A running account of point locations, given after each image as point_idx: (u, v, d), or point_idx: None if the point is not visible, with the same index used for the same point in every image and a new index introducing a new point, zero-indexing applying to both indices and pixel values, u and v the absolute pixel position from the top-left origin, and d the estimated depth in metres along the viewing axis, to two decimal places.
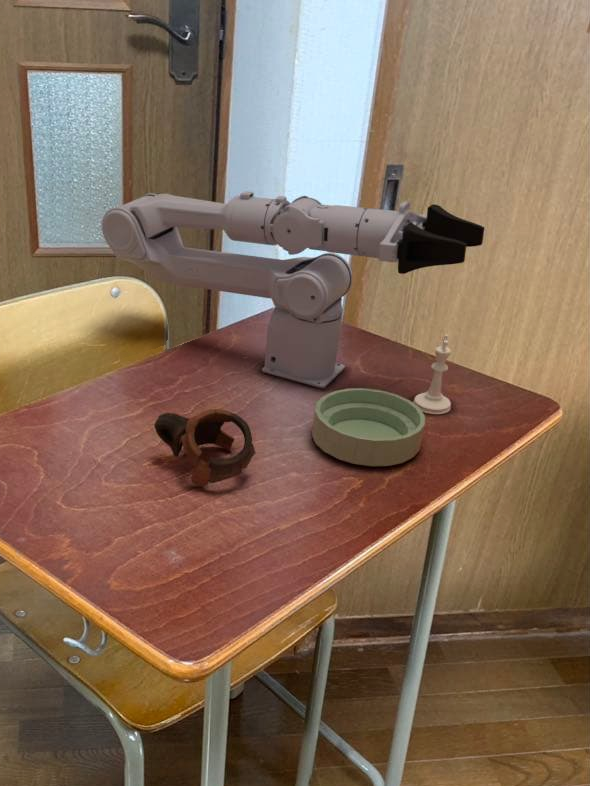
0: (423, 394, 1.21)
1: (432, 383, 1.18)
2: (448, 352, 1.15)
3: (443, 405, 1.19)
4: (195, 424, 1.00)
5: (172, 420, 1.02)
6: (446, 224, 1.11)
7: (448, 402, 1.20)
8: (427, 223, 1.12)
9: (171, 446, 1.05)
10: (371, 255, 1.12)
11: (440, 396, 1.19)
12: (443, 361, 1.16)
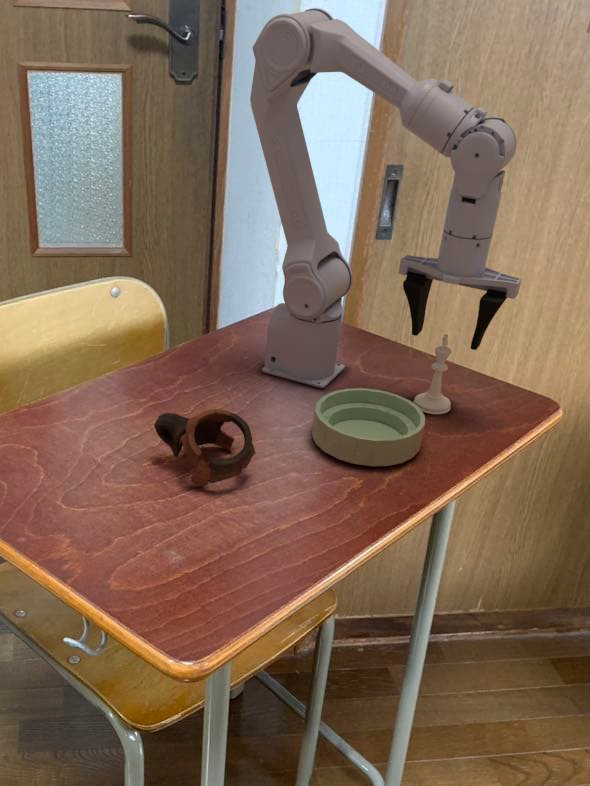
0: (423, 394, 1.21)
1: (432, 383, 1.18)
2: (448, 352, 1.15)
3: (443, 405, 1.19)
4: (195, 424, 1.00)
5: (172, 420, 1.02)
6: None
7: (448, 402, 1.20)
8: None
9: (171, 446, 1.05)
10: None
11: (440, 396, 1.19)
12: (443, 361, 1.16)
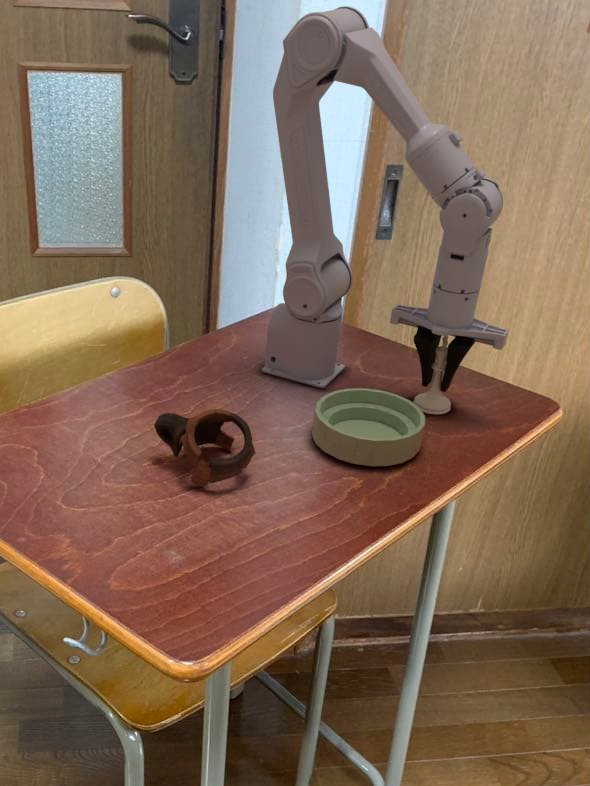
0: (423, 394, 1.21)
1: (432, 383, 1.18)
2: None
3: (443, 405, 1.19)
4: (195, 424, 1.00)
5: (172, 420, 1.02)
6: None
7: (448, 402, 1.20)
8: None
9: (171, 446, 1.05)
10: None
11: (440, 396, 1.19)
12: (443, 361, 1.16)
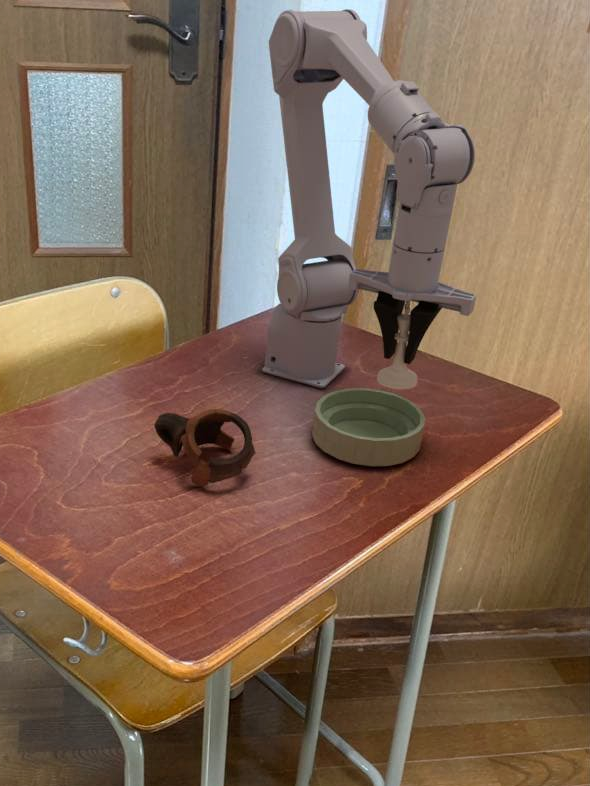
0: (387, 368, 1.10)
1: (396, 355, 1.08)
2: None
3: (409, 379, 1.08)
4: (195, 424, 1.00)
5: (172, 420, 1.02)
6: None
7: (414, 376, 1.09)
8: None
9: (171, 446, 1.05)
10: None
11: (405, 369, 1.09)
12: (406, 330, 1.06)
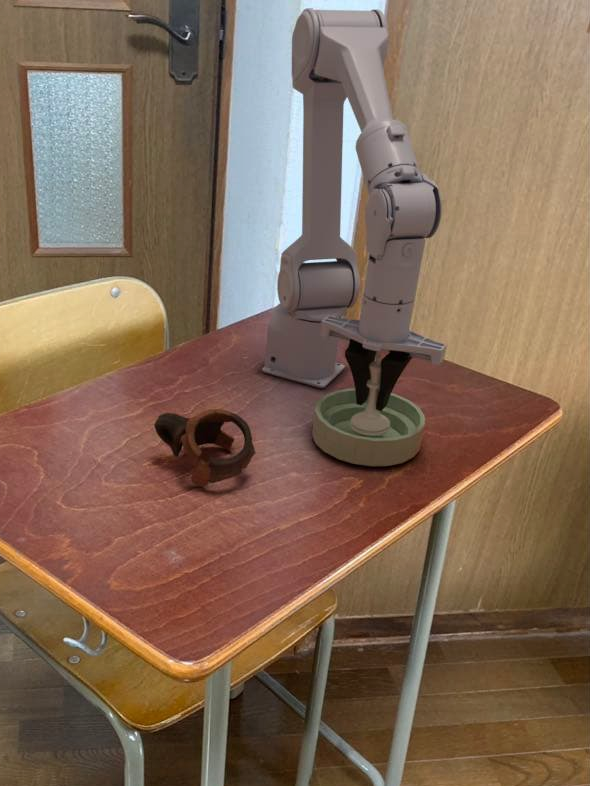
0: (360, 414, 1.11)
1: (368, 402, 1.08)
2: None
3: (381, 425, 1.09)
4: (195, 424, 1.00)
5: (172, 420, 1.02)
6: None
7: (387, 422, 1.09)
8: (387, 355, 1.04)
9: (171, 446, 1.05)
10: None
11: (378, 416, 1.09)
12: (378, 378, 1.06)
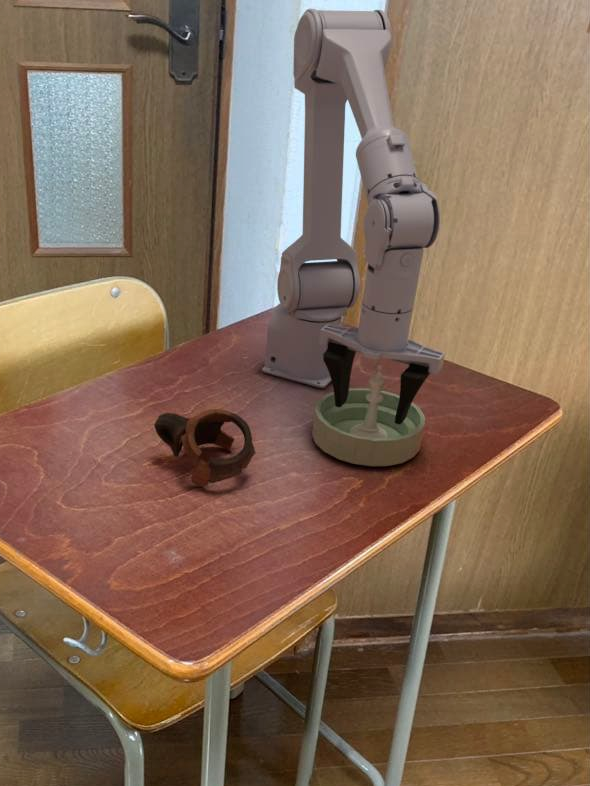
0: (358, 426, 1.12)
1: (367, 415, 1.09)
2: (382, 382, 1.06)
3: None
4: (195, 424, 1.00)
5: (172, 420, 1.02)
6: None
7: (385, 435, 1.11)
8: (407, 369, 1.03)
9: (171, 446, 1.05)
10: None
11: (376, 429, 1.10)
12: (377, 392, 1.07)
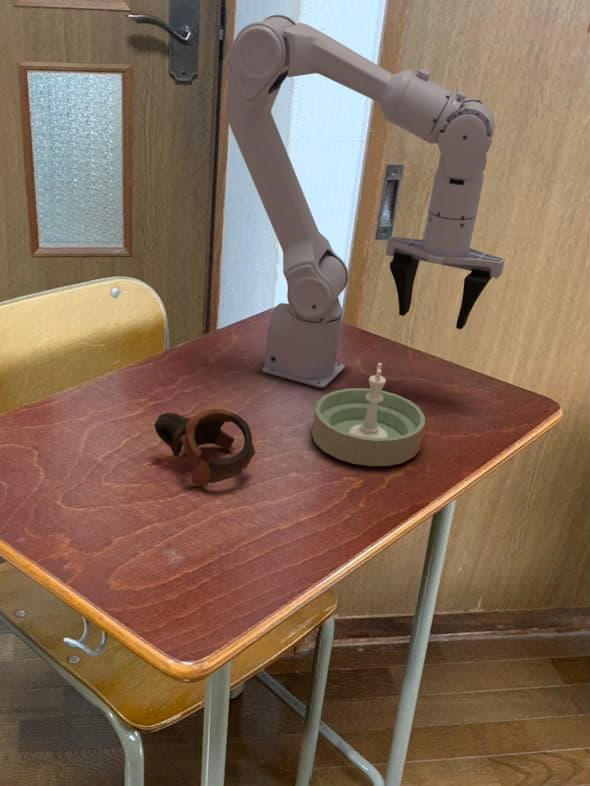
0: (358, 426, 1.12)
1: (367, 415, 1.09)
2: (382, 382, 1.06)
3: None
4: (195, 424, 1.00)
5: (172, 420, 1.02)
6: None
7: (385, 435, 1.11)
8: (469, 274, 1.11)
9: (171, 446, 1.05)
10: None
11: (376, 429, 1.10)
12: (377, 392, 1.07)
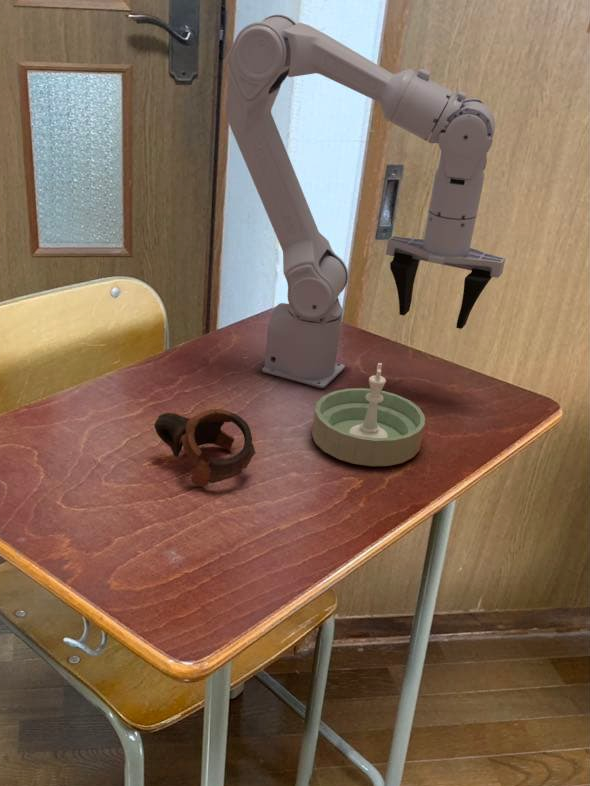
0: (358, 426, 1.12)
1: (367, 415, 1.09)
2: (382, 382, 1.06)
3: None
4: (195, 424, 1.00)
5: (172, 420, 1.02)
6: None
7: (385, 435, 1.11)
8: (469, 274, 1.12)
9: (171, 446, 1.05)
10: None
11: (376, 429, 1.10)
12: (377, 392, 1.07)
